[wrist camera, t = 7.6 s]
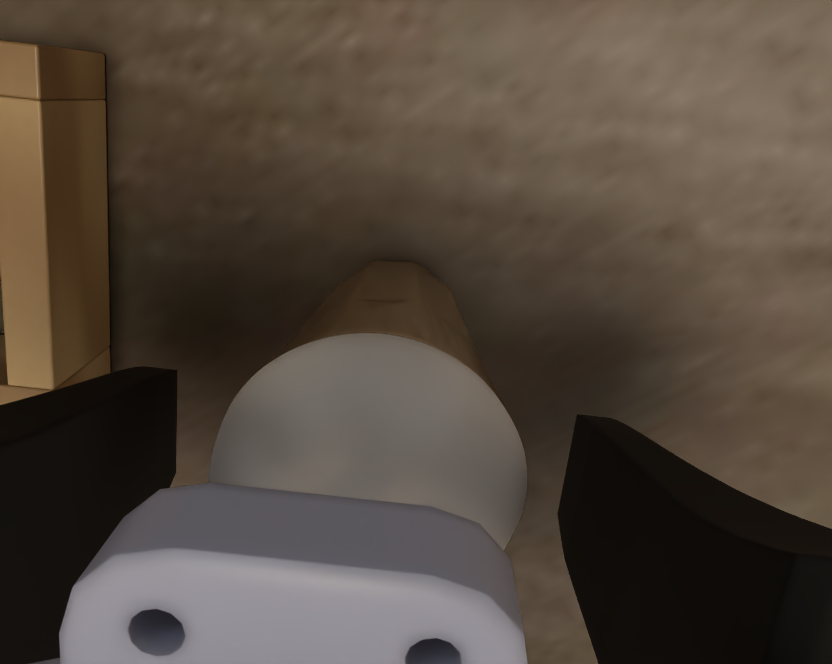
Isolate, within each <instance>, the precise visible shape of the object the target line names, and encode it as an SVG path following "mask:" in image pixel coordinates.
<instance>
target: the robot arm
mask: <svg viewBox="0 0 832 664" xmlns="http://www.w3.org/2000/svg"><path fill="white" fill-rule="evenodd" d="M176 431H177V370H172V369H163V368H154V367H145V366H142V367H133V368H128V369H124V370H120V371H116V372H113V373H109V374H106V375H102V376H99V377H96V378H93V379H89V380H86V381H83V382H80V383H76V384H73V385H70V386H67V387H63V388H60V389H57V390H53V391H50V392H46V393H43V394H39V395H35V396H32V397H28V398H24V399H21V400H17V401H13V402H10V403H6V404H2V405H0V664H528V662H527V654H526V646H525V639H524V632H523V626H522V621H521V615H520V609H519V604H518V598H517V593H516V587H515V581H514V576H513V570H512V565H511V559H510V558H509V556H508V555H507V554H506V553H505V552H504V551H503V550H502V548H501V547H500V546H499V545H498V544H497V543H496V542H495V540H494V539H493V538H492V537H491V536H490V535H489V534H488V532H487V531H486V530H485V529H484V528H483V527H482V526H481V524H480V523H477V522H474V521H471V520H468V519H466V518H463V517H460V516H457V515H454V514H452V513H449V512H446V511H443V510H440V509H437V508H435V507H432V506H424V505H414V504H405V503H396V502H386V501H377V500H368V499H359V498H349V497H340V496H331V495H321V494H312V493H303V492H294V491H284V490H275V489H266V488H257V487H247V486H238V485H229V484H219V483H204V484H196V485H188V486H181V487H173V488H169V487H170V485H171V483H172V480H173V478H174V476H175V474H176ZM558 520H559V527H560V534H561V540H562V546H563V552H564V558H565V562H566V565H567V568H568V571H569V575H570V578H571V581H572V584H573V587H574V590H575V593H576V597H577V600H578V603H579V606H580V609H581V612H582V615H583V618H584V621H585V624H586V627H587V630H588V633H589V636H590V639H591V642H592V645H593V648H594V651H595V654H596V657H597V660H598V664H832V529H830V528H827V527H824V526H822V525H819V524H816V523H813V522H810V521H808V520H805V519H802V518H799V517H797V516H794V515H792V514H789V513H787V512H784V511H782V510H780V509H777V508H775V507H773V506H771V505H768V504H766V503H764V502H762V501H760V500H757V499H755V498H753V497H751V496H748V495H746V494H744V493H742V492H740V491H738V490H736V489H734V488H732V487H730V486H728V485H726V484H725V483H723V482H721V481H719V480H717V479H716V478H714V477H712V476H710V475H708V474H706V473H705V472H703V471H701V470H699V469H698V468H696V467H694V466H693V465H691V464H689V463H687V462H686V461H684V460H683V459H681V458H679V457H678V456H676V455H674V454H673V453H671V452H670V451H668V450H666V449H665V448H663V447H662V446H660V445H658V444H657V443H655V442H654V441H652V440H650V439H649V438H647V437H646V436H644V435H642V434H641V433H639V432H638V431H636V430H634V429H633V428H631V427H629V426H627V425H626V424H624V423H622V422H620V421H618V420H615V419H612V418H606V417H597V416H588V415H579V414H577V417H576V422H575V427H574V433H573V438H572V443H571V448H570V453H569V458H568V463H567V468H566V474H565V479H564V484H563V489H562V494H561V499H560V504H559V509H558Z"/></svg>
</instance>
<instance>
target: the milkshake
mask: <svg viewBox="0 0 832 664" xmlns="http://www.w3.org/2000/svg"><path fill="white" fill-rule="evenodd" d="M209 483H219V484H229V485H238V486H247V487H257V488H266V489H275V490H284V491H294V492H303V493H312V494H321V495H331V496H340V497H349V498H359V499H368V500H377V501H386V502H396V503H405V504H414V505H424V506H432V507H435V508H437V509H440V510H443V511H446V512H449V513H452V514H454V515H457V516H460V517H463V518H466V519H468V520H471V521H474V522H477V523H480V524H481V526H482V527H483V528H484V529H485V530H486V531H487V532H488V534H489V535H490V536H491V537H492V538H493V539H494V540H495V542H496V543H497V544H498V545H499V546H500V547H501V548H502V550H503V551H504V549H505V547H506V546H507V544H508V542H509V541H510V539H511V537H512V535H513V533H514V531H515V529H516V528H517V525H518V523H519V521H520V518H521V516H522V513H523V509H524V505H525V500H526V494H527V464H526V457H525V452H524V448H523V445H522V442H521V439H520V436H519V434H518V432H517V429H516V427H515V425H514V423H513V421H512V420H511V418H510V416H509V414H508V412H507V410H506V408H505V406H504V404H503V402H502V400H501V398H500V397H499V395H498V393H497V391H496V389H495V387H494V385H493V383H492V381H491V379H490V377H489V375H488V374H487V372H486V370H485V368H484V366H483V364H482V362H481V360H480V358H479V356H478V354H477V352H476V350H475V348H474V346H473V343H472V341H471V339H470V336H469V334H468V332H467V329H466V327H465V324H464V322H463V319H462V317H461V315H460V312H459V310H458V307H457V305H456V303H455V300H454V298H453V295H452V293H451V290H450V288H449V287H448V286H446V285H445V284H444V283H443V282H441V281H440V280H439V279H437V278H436V277H435V276H433V275H432V274H431V273H430V272H428V271H427V270H426V269H424V268H423V267H422V266H421V265H419V264H418V263H417V262H402V261H379V260H374V261H372V262H371V263H369V264H368V265H366V266H365V267H363V268H362V269H360V270H359V271H357V272H356V273H354V274H353V275H351V276H350V277H348V278H347V279H345V280H344V281H342V282H341V283H339V284H338V286H337V287H336V288H335V289H334V290H333V291H332V292H331V294H330V295H329V296H328V297H327V298H326V299H325V301H324V302H323V303H322V304H321V305H320V307H319V308H318V309H317V310H316V311H315V312H314V314H313V315H312V316H311V317H310V318H309V319H308V321H307V322H306V323H305V324H304V325H303V327H302V328H301V329H300V330H299V331H298V333H297V334H296V335H295V336H294V337H293V338H292V339H291V340H290V341H289V342H288V343H287V344H286V345H285V346H284V347H283V348H282V349H281V350H280V351H279V352H278V353H277V354H276V355H275V356H274V357H273V358H272V359H271V360H270V361H269V362H268V363H267V364H266V365H265V366H264V367H263V368H262V369H260V370H259V371H258V372H257V373H256V374H255V375H253V376H252V377H251V378H250V379H249V380H248V381H247V383H246V384H245V385H244V386H243V387H242V388H241V390H240V391H239V392H238V394H237V395H236V396H235V398H234V400H233V401H232V403H231V405H230V406H229V408H228V410H227V412H226V414H225V417H224V419H223V421H222V424H221V426H220V429H219V432H218V435H217V438H216V441H215V444H214V448H213V452H212V456H211V460H210V466H209Z"/></svg>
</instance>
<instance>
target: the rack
mask: <svg viewBox="0 0 832 664" xmlns="http://www.w3.org/2000/svg"><path fill="white" fill-rule="evenodd" d="M103 99H105V56H104V54H103V53H97V52H90V51H83V50H75V49H68V48H60V47H53V46H45V45H38V44H30V43H21V42H13V41H4V40H0V272H1V288H2V303H3V318H4V334H5V335H0V405H2V404H6V403H10V402H13V401H17V400H21V399H24V398H28V397H32V396H35V395H39V394H43V393H46V392H50V391H53V390H57V389H60V388H63V387H67V386H70V385H73V384H76V383H80V382H83V381H86V380H89V379H93V378H96V377H99V376H102V375H106V374H109V373H110V347H108V346H110V312H109V259H108V205H107V151H106V102H105V100H103Z"/></svg>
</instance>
